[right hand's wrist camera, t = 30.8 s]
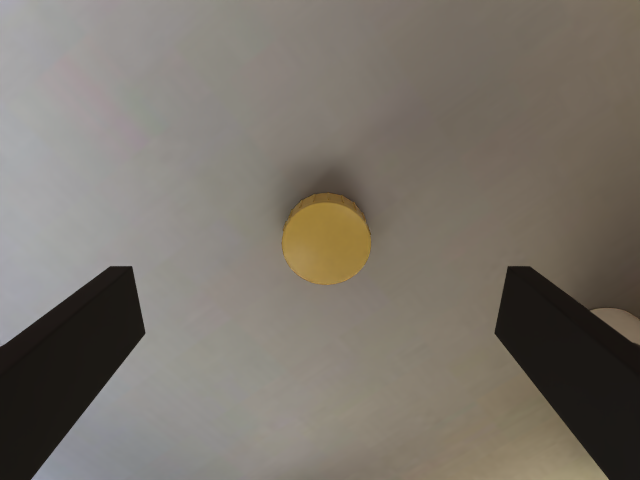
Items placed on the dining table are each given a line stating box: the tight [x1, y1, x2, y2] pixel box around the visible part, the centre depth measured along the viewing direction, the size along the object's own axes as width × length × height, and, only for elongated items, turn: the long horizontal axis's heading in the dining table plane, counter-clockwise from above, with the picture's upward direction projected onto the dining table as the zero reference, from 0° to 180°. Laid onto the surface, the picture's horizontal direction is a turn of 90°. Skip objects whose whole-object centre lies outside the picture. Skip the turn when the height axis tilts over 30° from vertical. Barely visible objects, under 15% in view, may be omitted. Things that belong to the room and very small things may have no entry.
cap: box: [282, 192, 371, 285], centre depth 17 cm, size 4×4×2 cm
